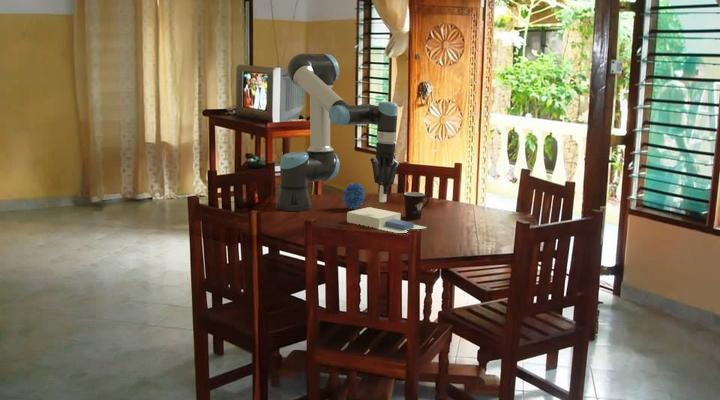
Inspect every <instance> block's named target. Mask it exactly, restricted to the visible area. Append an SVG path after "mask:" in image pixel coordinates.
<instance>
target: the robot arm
mask: <svg viewBox="0 0 720 400" xmlns="http://www.w3.org/2000/svg"><path fill="white" fill-rule="evenodd" d="M286 68H287V69H286V70H287V71H286V72H287V76H288V78H289V79H290V81H291V82H292V83H293V84H294V86H296V87H298V88H302V89H303V90H304V91H305V92H306V93H308V95H309V107H310V108H309V117H310V119H309V120H310V121H309V122H310V125H309V126H310V128H309V129H310V130H309V131H310V133H309V134H310V138H309V139H310V142H309V143H310V146H309V147H308V148H307V149H306V151H291V152H287V153H285V154H283V155H282V156H281V157H280V164H279V168H280V170H279V171H280V172H279V180H280V181H279V192H278V195H277V199H276V201H275V208H276V209H277V210H280V211H285V212H286V211H288V212H300V211H301V212H302V211H307V210H311V209H312V201H311V198H310V195H309V190H308V183H312V182H321V181H324V182H326V181H329V180H333V179H334V178H336V176H337V175H338V173H339V170H340V159H339V157H338V155H337V154H336V153H335V150H334V148H333V147H332V146H331V124H332V125H334V126H343V127H344V126H353V125H374V126H376V141H377V142H376V144H375V145H376V146H375V152H376V153H375V156H373V157H371V158H369V160H370V163H371V165H372V173H373V181H374V183H375V184H377V185H378V189H377V191H378V195H379V197H378V200H379V203H386V202H387V196H388V194H389V187H390V186H391V185H394V183H395V178H396V174H397V171H398V167H399V166H400V165H401V163H400V161H397V160H396V157H395V153H396V142H397V130H398V129H397V126H398V115H399V111H398V110H399V109H398V104H397V102H392V101H379V102H378V105H375V104H371V103H361V104H349V103H347V102H346V101H345V100H344V99H343V98H342V97H340V95H338V94H337V93H336V92H335V91H334V90H333V89H332V88H333V87H334V83H335V82H336V81H337V80H338V77H339V76H340V66H339V63H338V61H337V59H336V58H335V57H334V56H333V55H331V54H327V53H299V54H296V55H294V56H293V57H291V59H290V60H289V62H288V64H287V67H286Z"/></svg>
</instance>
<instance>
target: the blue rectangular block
mask: <svg viewBox="0 0 720 400" xmlns="http://www.w3.org/2000/svg"><path fill="white" fill-rule="evenodd" d="M414 225H415V223H414V222H411V221H406V220H402V219H400V220H397V219H394V220H390V221H386V227H391V228H395V229H400V230H408V229H412V228H414Z"/></svg>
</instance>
